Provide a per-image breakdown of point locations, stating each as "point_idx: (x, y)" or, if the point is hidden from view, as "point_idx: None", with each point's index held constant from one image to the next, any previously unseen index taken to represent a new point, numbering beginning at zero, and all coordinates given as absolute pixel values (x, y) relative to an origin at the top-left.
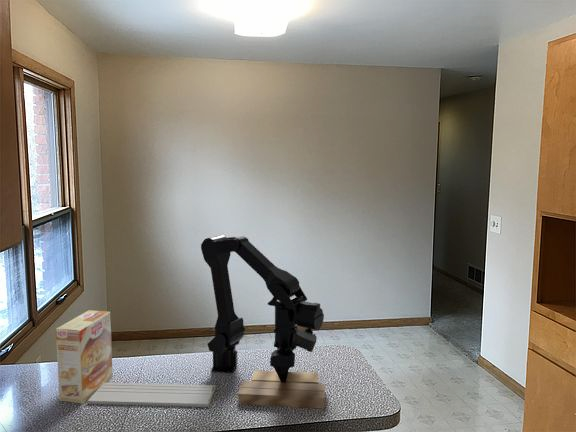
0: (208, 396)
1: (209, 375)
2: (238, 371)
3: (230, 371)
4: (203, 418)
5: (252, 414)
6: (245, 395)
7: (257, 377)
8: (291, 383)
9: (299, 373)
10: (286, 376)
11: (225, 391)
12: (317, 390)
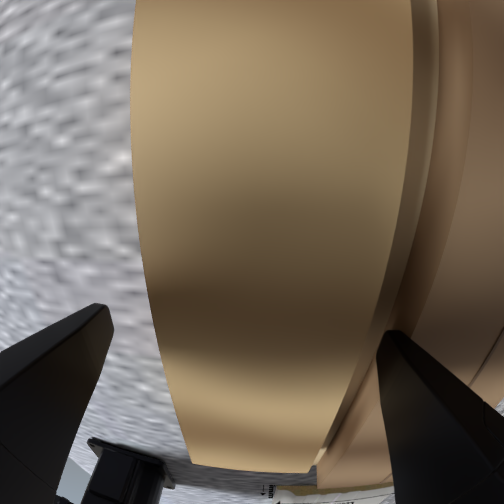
0: (361, 493)
1: (201, 488)
2: (146, 446)
3: (164, 466)
4: None
5: None
6: None
7: (281, 462)
8: (444, 288)
9: (173, 184)
10: (457, 386)
11: (315, 473)
12: None
